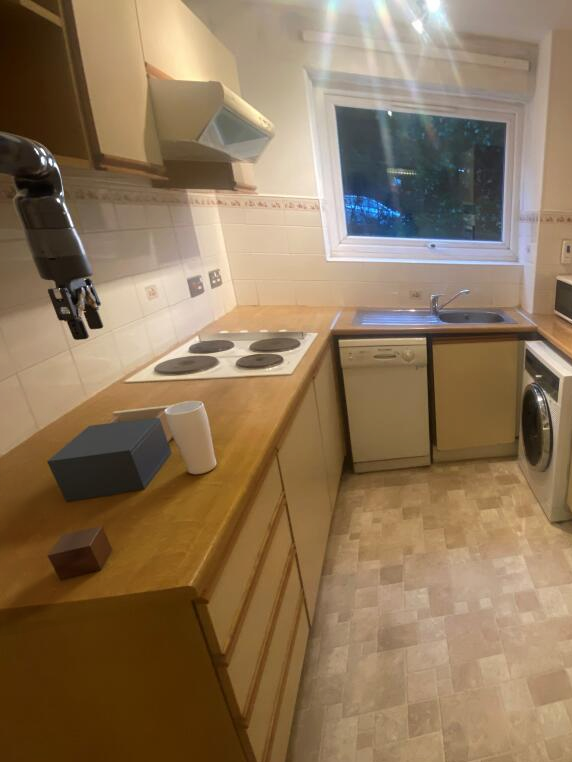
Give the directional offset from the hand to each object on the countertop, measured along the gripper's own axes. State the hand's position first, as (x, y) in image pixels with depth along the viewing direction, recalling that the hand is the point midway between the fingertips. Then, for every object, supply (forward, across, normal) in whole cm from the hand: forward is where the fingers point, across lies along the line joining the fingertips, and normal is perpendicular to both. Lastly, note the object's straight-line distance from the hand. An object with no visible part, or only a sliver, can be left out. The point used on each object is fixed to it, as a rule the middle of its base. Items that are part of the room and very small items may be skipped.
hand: (89, 333), depth 90 cm
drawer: (+28, -1, +2) cm, 28 cm away
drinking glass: (+29, +15, +15) cm, 36 cm away
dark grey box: (+29, +10, 0) cm, 31 cm away
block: (+29, +39, +3) cm, 48 cm away
